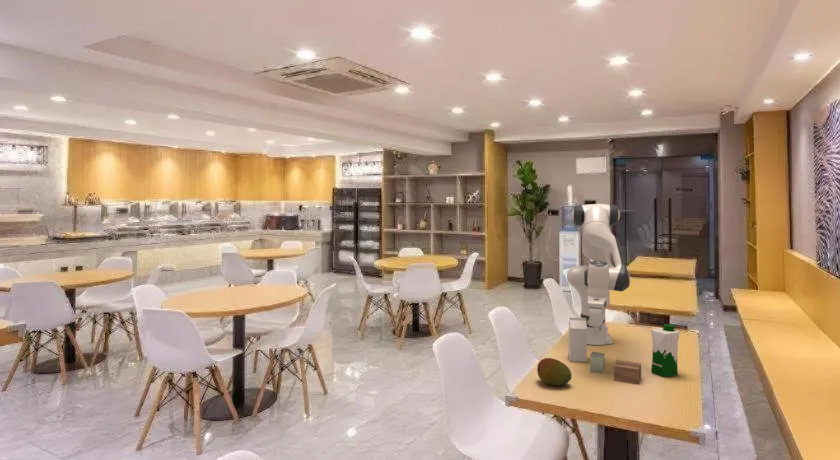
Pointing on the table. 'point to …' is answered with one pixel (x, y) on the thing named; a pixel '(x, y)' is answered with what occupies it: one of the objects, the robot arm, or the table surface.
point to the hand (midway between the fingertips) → (597, 333)
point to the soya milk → (665, 351)
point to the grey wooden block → (597, 362)
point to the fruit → (553, 372)
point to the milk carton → (578, 339)
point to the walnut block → (627, 371)
